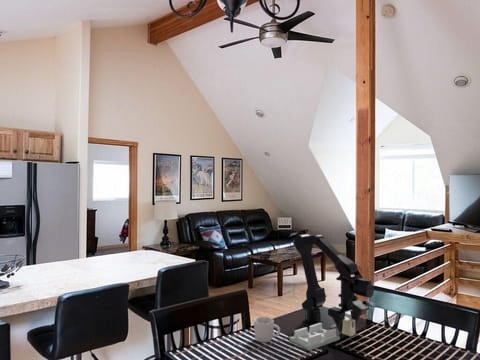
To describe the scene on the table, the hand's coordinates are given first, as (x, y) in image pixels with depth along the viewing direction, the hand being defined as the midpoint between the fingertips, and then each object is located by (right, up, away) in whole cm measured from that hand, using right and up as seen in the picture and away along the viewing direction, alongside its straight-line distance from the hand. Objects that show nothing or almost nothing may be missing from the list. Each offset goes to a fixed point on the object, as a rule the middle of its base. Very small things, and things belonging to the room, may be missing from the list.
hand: (347, 329), depth 159 cm
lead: (-2, -2, +8) cm, 9 cm away
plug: (0, -2, 0) cm, 2 cm away
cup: (-34, -2, -7) cm, 35 cm away
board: (-15, -1, -6) cm, 16 cm away
